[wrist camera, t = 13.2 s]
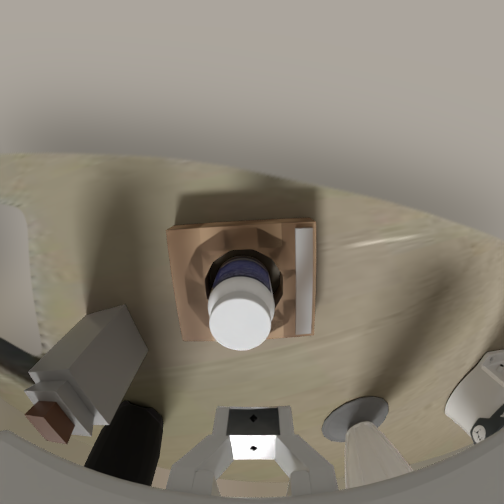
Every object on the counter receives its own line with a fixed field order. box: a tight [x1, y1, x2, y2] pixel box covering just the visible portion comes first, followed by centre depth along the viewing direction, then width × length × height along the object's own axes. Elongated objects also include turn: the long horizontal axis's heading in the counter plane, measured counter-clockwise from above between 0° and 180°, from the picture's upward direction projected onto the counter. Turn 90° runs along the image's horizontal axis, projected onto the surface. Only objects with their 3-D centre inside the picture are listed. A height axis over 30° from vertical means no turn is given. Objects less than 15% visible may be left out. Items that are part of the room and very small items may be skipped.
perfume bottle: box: [24, 304, 148, 444], centre depth 23 cm, size 7×7×18 cm
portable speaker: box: [84, 401, 163, 486], centre depth 26 cm, size 9×9×20 cm
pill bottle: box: [208, 255, 275, 350], centre depth 25 cm, size 6×6×10 cm
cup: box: [322, 396, 413, 489], centre depth 26 cm, size 12×12×22 cm
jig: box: [166, 218, 316, 341], centre depth 28 cm, size 14×12×3 cm
